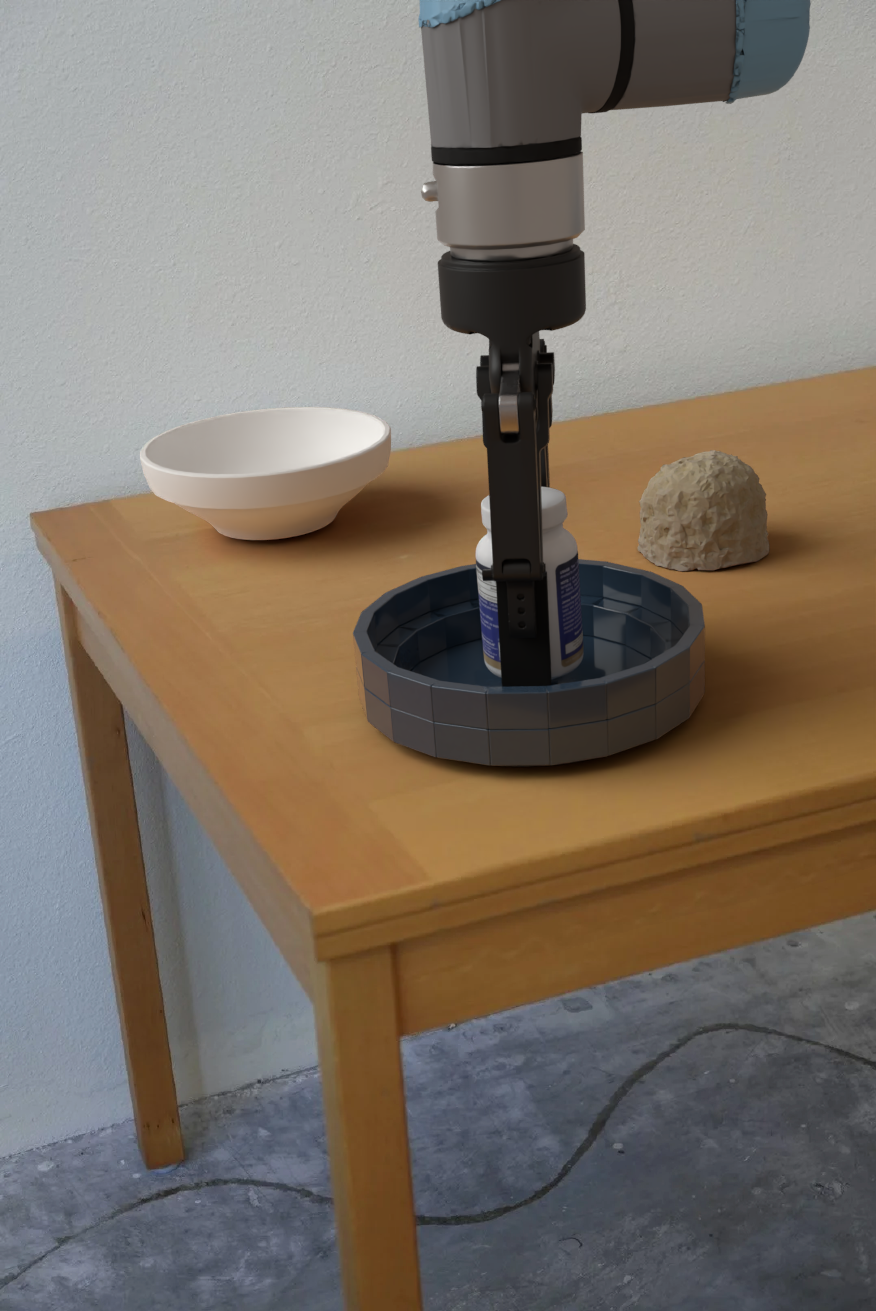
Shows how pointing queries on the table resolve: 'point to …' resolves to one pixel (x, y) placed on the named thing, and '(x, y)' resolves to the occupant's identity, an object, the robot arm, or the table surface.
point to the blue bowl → (531, 717)
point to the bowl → (268, 467)
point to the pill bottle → (561, 588)
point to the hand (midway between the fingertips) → (529, 659)
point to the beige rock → (704, 514)
